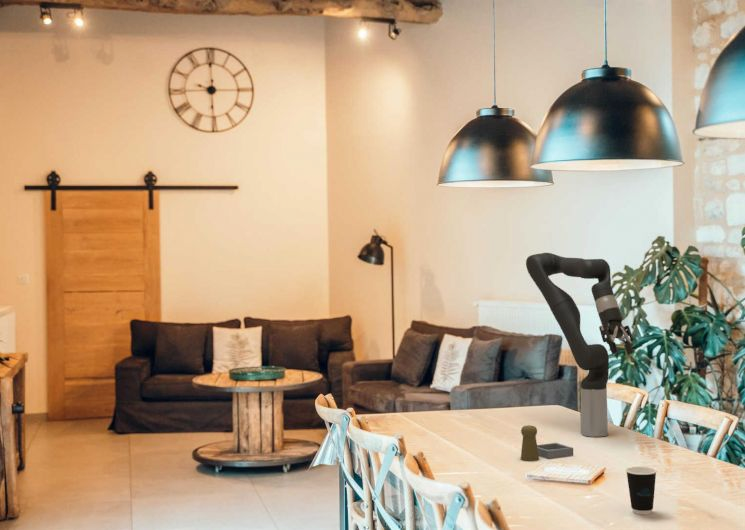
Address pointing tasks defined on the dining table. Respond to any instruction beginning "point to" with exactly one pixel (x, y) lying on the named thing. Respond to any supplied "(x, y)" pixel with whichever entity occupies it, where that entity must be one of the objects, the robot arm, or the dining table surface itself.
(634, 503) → the dixie cup
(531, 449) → the olive game piece
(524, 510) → the dining table surface
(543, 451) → the tray
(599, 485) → the dining table surface
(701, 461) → the dining table surface
